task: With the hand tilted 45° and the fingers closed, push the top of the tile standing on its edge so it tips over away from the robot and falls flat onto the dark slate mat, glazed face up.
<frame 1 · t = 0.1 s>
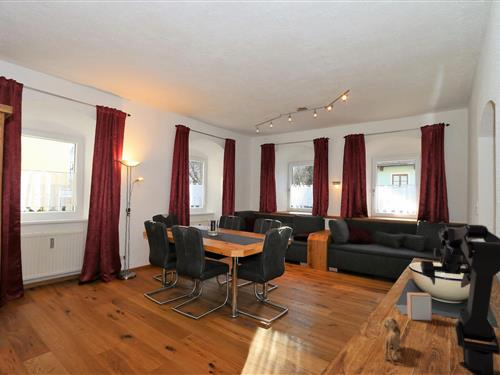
hand: (447, 285, 110), 15 cm above the sideboard, tool tilted 35°, fingers open, 9 cm apart
tile: (419, 318, 114), on the sideboard
dog figurine: (391, 352, 90), on the sideboard
slate mat: (410, 310, 122), on the sideboard
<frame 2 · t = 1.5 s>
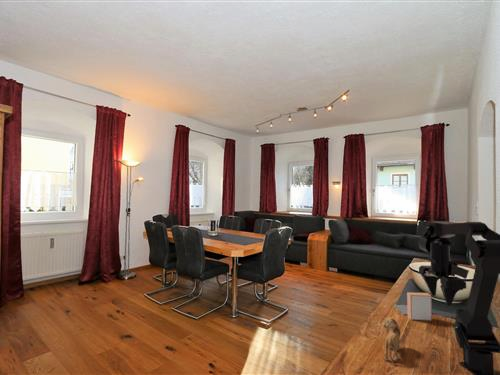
hand: (441, 300, 99), 13 cm above the sideboard, tool pointing down, fingers open, 9 cm apart
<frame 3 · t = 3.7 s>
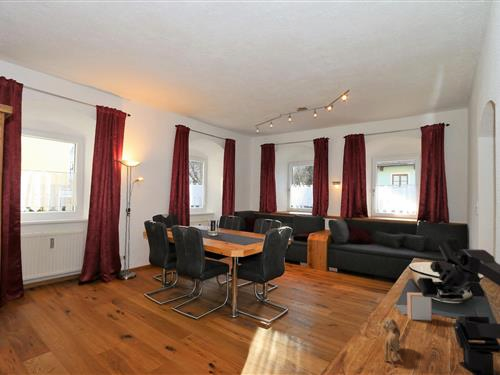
hand: (440, 299, 99), 13 cm above the sideboard, tool tilted 45°, fingers closed
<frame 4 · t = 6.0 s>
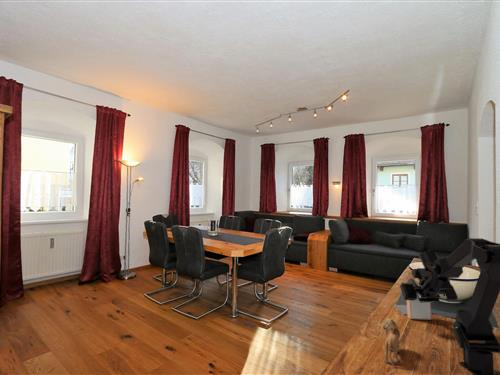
hand: (420, 301, 113), 7 cm above the sideboard, tool tilted 45°, fingers closed
tile: (419, 318, 114), on the sideboard, tilted 6°
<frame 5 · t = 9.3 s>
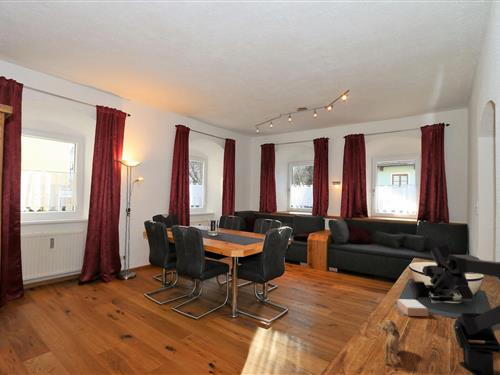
hand: (432, 301, 104), 11 cm above the sideboard, tool tilted 45°, fingers closed
tile: (417, 312, 115), point 2 cm above the sideboard, tilted 90°, touching slate mat
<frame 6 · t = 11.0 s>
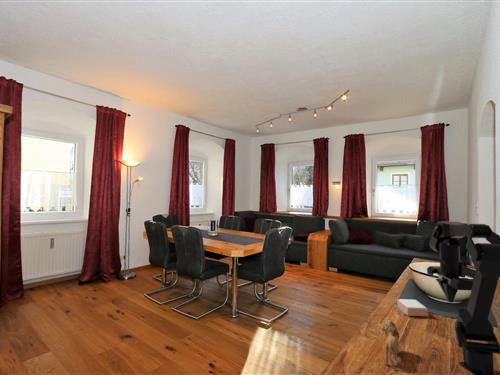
hand: (450, 301, 97), 13 cm above the sideboard, tool pointing down, fingers closed
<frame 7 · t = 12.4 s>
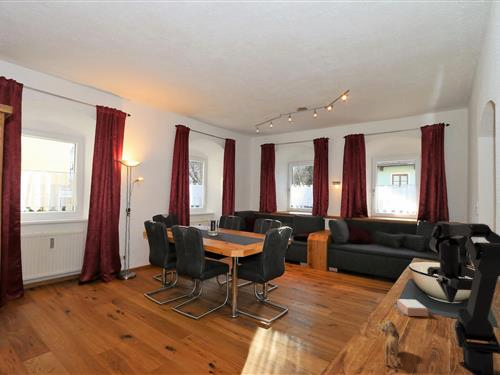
hand: (450, 302, 97), 13 cm above the sideboard, tool pointing down, fingers closed
at the end: tile tilted 90°; tile inside the target area (2.7 cm from its centre), point 1.9 cm above the sideboard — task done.
